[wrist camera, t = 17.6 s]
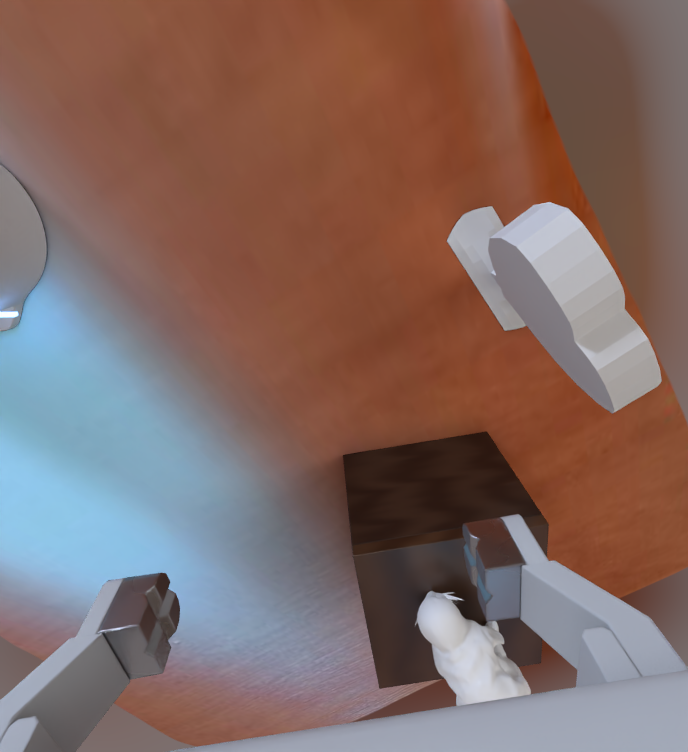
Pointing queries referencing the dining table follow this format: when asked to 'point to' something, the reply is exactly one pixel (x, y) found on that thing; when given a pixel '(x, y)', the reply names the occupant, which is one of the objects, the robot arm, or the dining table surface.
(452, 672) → the white figurine
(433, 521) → the shelf stand
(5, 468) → the dining table surface
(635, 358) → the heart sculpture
